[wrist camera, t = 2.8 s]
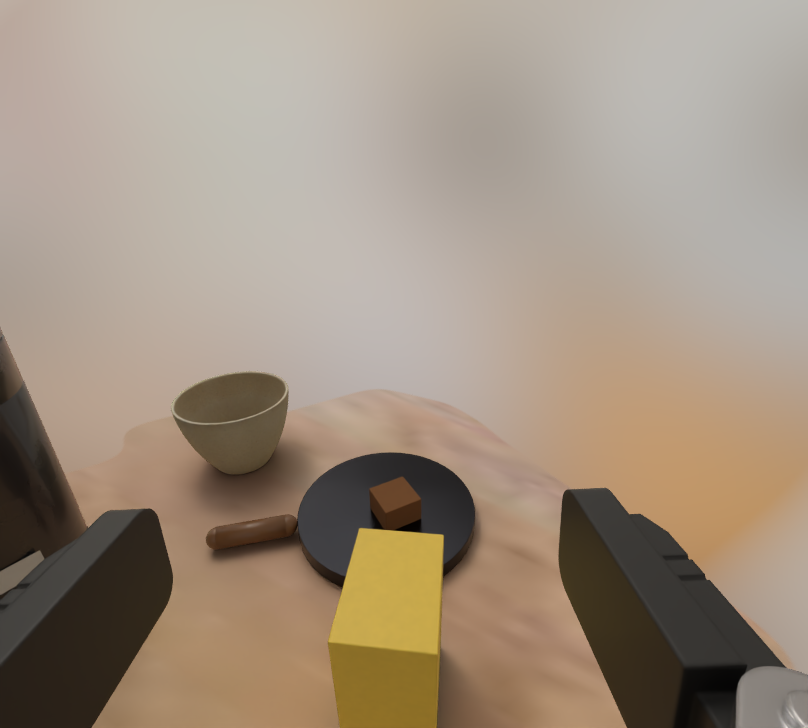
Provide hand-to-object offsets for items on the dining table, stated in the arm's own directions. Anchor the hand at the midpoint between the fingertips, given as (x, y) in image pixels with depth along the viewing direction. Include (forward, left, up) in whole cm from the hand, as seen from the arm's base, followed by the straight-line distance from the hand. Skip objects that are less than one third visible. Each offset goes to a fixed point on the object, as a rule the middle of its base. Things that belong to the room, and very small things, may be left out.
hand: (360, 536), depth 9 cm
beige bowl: (-8, +31, -20) cm, 38 cm away
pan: (+1, +20, -20) cm, 28 cm away
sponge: (+2, +7, -20) cm, 21 cm away
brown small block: (+4, +19, -18) cm, 27 cm away
